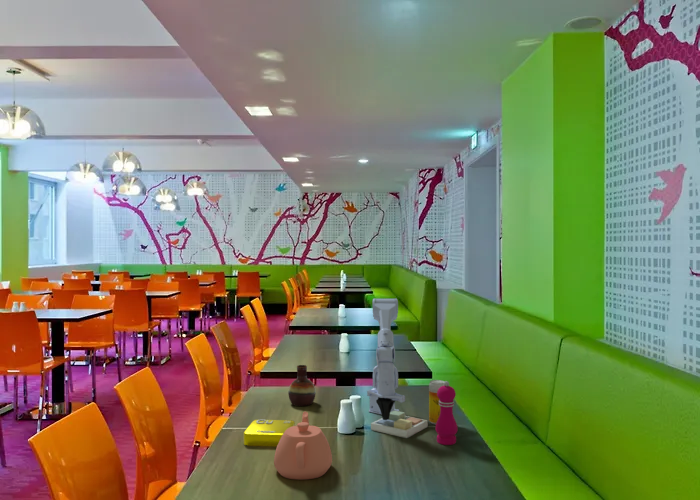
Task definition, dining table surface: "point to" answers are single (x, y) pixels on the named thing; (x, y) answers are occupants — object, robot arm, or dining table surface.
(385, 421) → the slate-blue key
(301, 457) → the teapot
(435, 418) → the beer can
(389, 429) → the keypad base
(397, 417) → the sage key
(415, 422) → the terracotta key
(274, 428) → the element tile
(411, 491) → the dining table surface
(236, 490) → the dining table surface
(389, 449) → the dining table surface
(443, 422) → the pepper mill
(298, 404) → the vase
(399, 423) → the mustard key
